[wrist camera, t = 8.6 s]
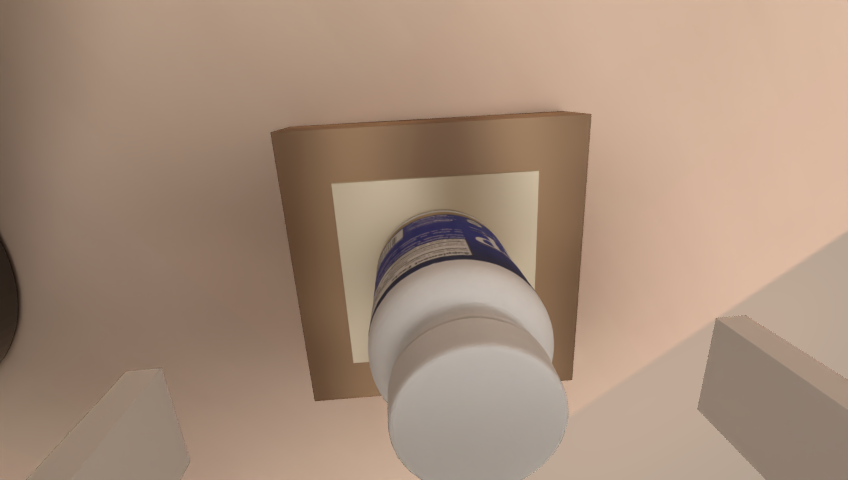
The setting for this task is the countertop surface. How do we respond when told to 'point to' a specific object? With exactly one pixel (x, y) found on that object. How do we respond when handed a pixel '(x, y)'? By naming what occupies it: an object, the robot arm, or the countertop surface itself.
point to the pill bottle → (463, 354)
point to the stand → (419, 193)
